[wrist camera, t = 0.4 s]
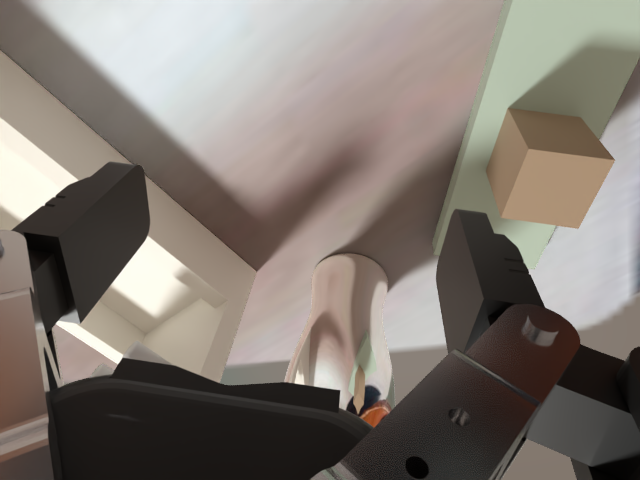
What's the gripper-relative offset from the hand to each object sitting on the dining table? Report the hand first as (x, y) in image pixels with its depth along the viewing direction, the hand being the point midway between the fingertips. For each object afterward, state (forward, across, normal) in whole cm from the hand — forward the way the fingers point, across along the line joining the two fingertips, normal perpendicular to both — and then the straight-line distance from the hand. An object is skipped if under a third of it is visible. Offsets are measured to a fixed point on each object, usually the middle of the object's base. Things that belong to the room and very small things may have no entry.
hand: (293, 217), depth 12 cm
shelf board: (+18, -12, +3) cm, 22 cm away
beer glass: (+19, -3, +17) cm, 26 cm away
